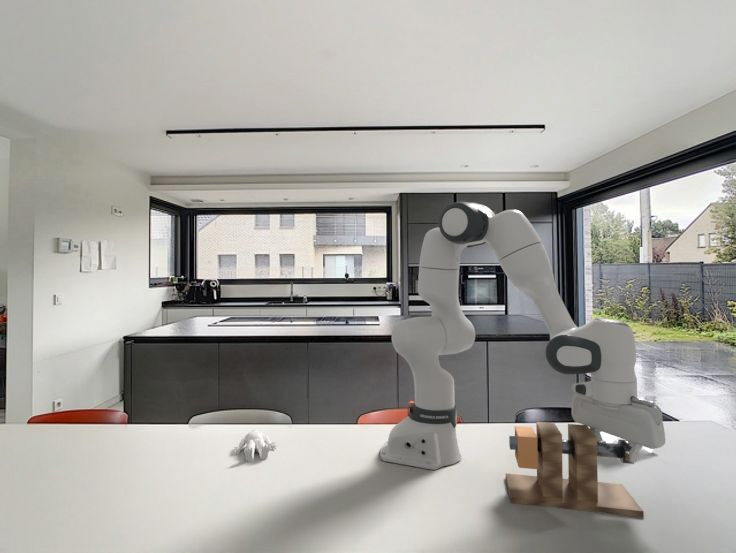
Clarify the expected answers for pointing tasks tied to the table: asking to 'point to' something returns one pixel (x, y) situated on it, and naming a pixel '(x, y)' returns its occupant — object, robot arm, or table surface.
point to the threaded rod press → (570, 477)
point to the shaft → (602, 448)
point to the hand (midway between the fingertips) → (615, 454)
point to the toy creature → (255, 445)
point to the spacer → (526, 448)
